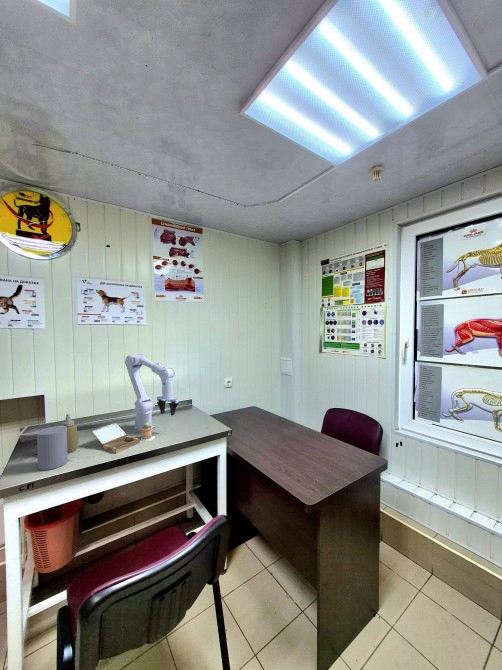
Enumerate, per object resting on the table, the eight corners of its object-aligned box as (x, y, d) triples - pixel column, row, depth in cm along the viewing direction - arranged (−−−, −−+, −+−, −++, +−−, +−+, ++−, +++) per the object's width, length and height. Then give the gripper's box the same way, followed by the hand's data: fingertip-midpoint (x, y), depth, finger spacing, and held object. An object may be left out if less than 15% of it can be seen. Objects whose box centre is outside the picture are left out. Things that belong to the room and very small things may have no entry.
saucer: (137, 440, 139) (137, 439, 139) (148, 435, 145) (148, 434, 145) (147, 442, 136) (147, 441, 136) (157, 437, 142) (157, 436, 142)
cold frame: (97, 448, 129) (97, 438, 129) (123, 438, 142) (123, 429, 142) (116, 454, 123) (116, 444, 123) (141, 442, 136) (141, 433, 135)
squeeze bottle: (63, 457, 121) (62, 418, 120) (55, 453, 125) (54, 415, 125) (82, 450, 127) (81, 413, 127) (73, 446, 132) (73, 410, 131)
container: (36, 473, 107) (36, 436, 107) (38, 463, 115) (37, 429, 115) (67, 465, 113) (67, 430, 113) (67, 456, 121) (66, 424, 121)
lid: (102, 443, 128) (102, 444, 128) (126, 434, 139) (126, 435, 139) (91, 430, 132) (91, 431, 132) (115, 422, 143) (115, 423, 143)
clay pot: (147, 435, 144) (147, 420, 144) (154, 436, 142) (154, 421, 141) (139, 438, 139) (139, 423, 139) (146, 440, 137) (146, 424, 137)
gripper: (152, 390, 149) (152, 414, 149) (171, 392, 142) (172, 418, 142) (162, 387, 155) (162, 410, 155) (180, 390, 148) (181, 414, 148)
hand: (167, 414), depth 149 cm, fingers open, 7 cm apart
